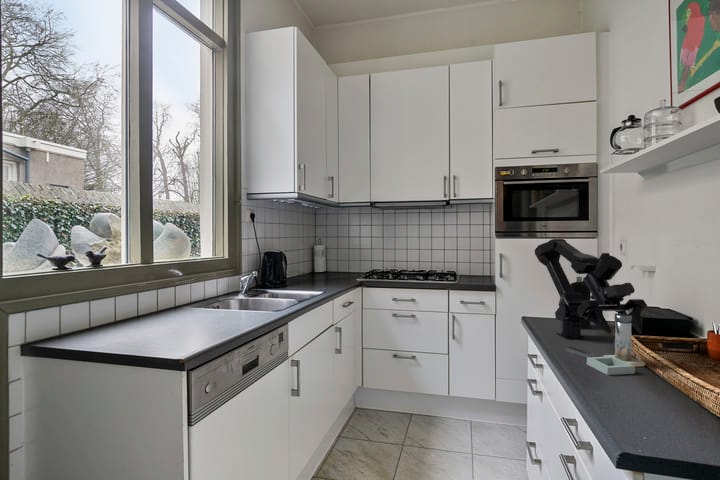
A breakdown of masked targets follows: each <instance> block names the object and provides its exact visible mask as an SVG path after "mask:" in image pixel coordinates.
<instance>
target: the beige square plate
mask: <svg viewBox="0 0 720 480" xmlns="http://www.w3.org/2000/svg"><path fill="white" fill-rule="evenodd" d="M607 356H613V357H615V354H609V355H608V354H605V355H603V357H607ZM624 362H627V363H629V364H631V365H633V366H635V368H636V367H637V368H638V367H645V364H646V362H644V361H641V360H639V359H637V358H634V357H633V356H631V361H624Z"/></svg>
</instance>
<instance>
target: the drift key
mask: <svg viewBox="0 0 720 480" xmlns="http://www.w3.org/2000/svg"><path fill="white" fill-rule="evenodd" d="M565 352H567V353H570V354H573V355H577V356H580V357H583V358H586V359H587V358H588V357H595V354H594V353H592V352H589V351H585V350H581V349H578V348H576V347H575V348H574V347H571V346H567V347H565Z"/></svg>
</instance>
